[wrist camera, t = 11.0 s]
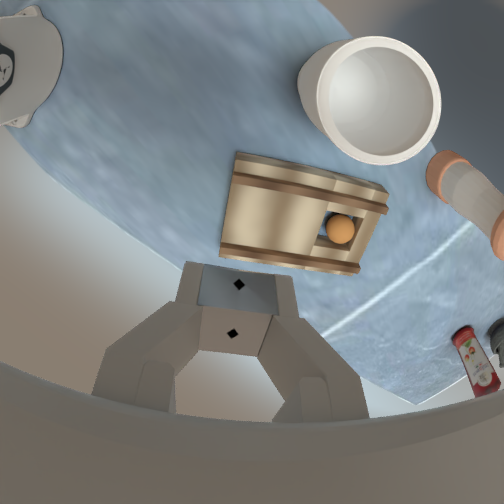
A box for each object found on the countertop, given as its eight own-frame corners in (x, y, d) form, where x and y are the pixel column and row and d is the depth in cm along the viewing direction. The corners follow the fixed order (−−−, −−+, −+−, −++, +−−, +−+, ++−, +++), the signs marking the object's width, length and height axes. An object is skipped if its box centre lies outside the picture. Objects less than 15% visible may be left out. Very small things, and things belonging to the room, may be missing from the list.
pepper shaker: (456, 194, 38) (530, 271, 22) (421, 193, 38) (496, 277, 23) (465, 152, 34) (553, 218, 18) (429, 147, 34) (521, 217, 18)
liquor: (451, 345, 63) (486, 433, 40) (448, 334, 60) (488, 429, 37) (472, 331, 60) (511, 416, 38) (471, 319, 57) (515, 411, 34)
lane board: (220, 244, 43) (218, 262, 40) (236, 151, 35) (235, 162, 32) (347, 263, 46) (354, 281, 42) (381, 184, 37) (393, 198, 34)
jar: (368, 44, 26) (439, 43, 14) (375, 122, 32) (439, 163, 20) (281, 47, 27) (306, 34, 15) (293, 129, 33) (322, 172, 21)
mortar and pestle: (494, 316, 58) (513, 349, 48) (512, 311, 58) (531, 341, 48) (477, 342, 64) (492, 374, 55) (496, 336, 64) (511, 366, 55)
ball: (319, 231, 42) (325, 247, 39) (328, 206, 40) (335, 221, 36) (344, 235, 42) (352, 251, 39) (353, 212, 40) (362, 226, 37)
